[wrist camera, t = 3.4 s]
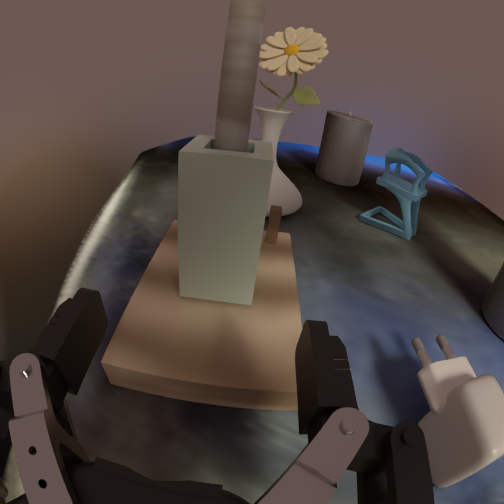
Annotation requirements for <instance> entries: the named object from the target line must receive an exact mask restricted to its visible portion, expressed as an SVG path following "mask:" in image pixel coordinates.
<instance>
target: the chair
mask: <svg viewBox="0 0 504 504" xmlns="http://www.w3.org/2000/svg"><path fill="white" fill-rule="evenodd" d="M390 163H397V165H396V169H395V172H394V174H391V175H390ZM415 163H416V164H418V165H419V166H420V167H421V168H422V169H423V171H424V172H423V171H422V170H421V169H419V167H418V166H417V165H416V164H415ZM401 164H404V165H406V166H408V167H409V168H410V169H411V170H412V171H413V172H414V173H415V174H416V175H417V178H416V179H415V181H414V183H413V184H411V183H409V182H407V181H405V180H404V179H402V178H400V177H398V176H399V173H400V168H401ZM432 172H433V171H432V170H431V169H429V168H428V167H427V166H426V165H425V164H424V163H423V162H422V161H421V159H420V158H419V157H417V156H416V155H414V154H412V153H408V152H405V151H403V150H402V149H401V148H393V149H391V150H390V151H389V152H388V153H387V154H386V159H385V172H384V174H383V176H382V177H377V181H376V183H377V184H379V185H381V186H383V187H386V188H387V189H388V190H389V191H391V192H392V193H393V194H394V195H395V196H396V197H397V198H398V200H399V202H400V206H401V210H402V217H403V221H402V220H401V219H399V218H398V217H396V216H395V215H394V214H392V213H391V212H389V211H388V210H386V209H385V208H383V207H381V206H378V207H376V208H373V209H371V210H369V211H367V212H364V213H362V214H360V217H359V221H362V222H364V223H366V224H369V225H372V226H374V227H377V228H380V229H382V230H385V231H387V232H390V233H392V234H395V235H397V236H399V237H402V238H404V239H406V240H408V241H410V240H411V236H415V234H416V230H417V221H418V211H419V204H420V200H421V198H422V197H425V196H426V194H427V190H425V183H426V181H427V179H428V177H429V176H430V174H431V173H432ZM425 173H426V175H425ZM424 175H425V176H424ZM423 176H424V177H423ZM422 177H423V178H422ZM421 178H422V180H421ZM420 180H421V183H420V187H419V186H418V184H419V182H420ZM377 213H381V214H383V215H384V216H385V217H387V218H388V219H389V220H391V221H392V222H393V223H395V224H396V225H397V226H399V227H400V228H401V229H400V228H398V227H395V226H393V225H390V224H387V223H385V222H382V221H379V220H376V219H374V218H371V217H370V216H372V215H374V214H377Z"/></svg>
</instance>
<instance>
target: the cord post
mask: <svg viewBox="0 0 504 504" xmlns="http://www.w3.org/2000/svg"><path fill="white" fill-rule="evenodd" d="M266 3H267V0H231V3H230V9H229V16H228V23H227V31H226V37H225V46H224V53H223V61H222V70H221V78H220V87H219V97H218V107H217V117H216V129H215V139H214V149H218V150H229V151H238V152H247V148H248V140H249V131H250V123H251V115H252V107H253V99H254V91H255V83H256V76H257V68H258V60H259V53H260V45H261V38H262V31H263V24H264V17H265V10H266ZM281 216H282V206H275V205H271V208H270V214H269V220H268V227H267V231H266V230H263V235H262V242H261V248H260V255H259V261H258V267H257V274H256V280H255V286H254V292H253V299H252V305H244V304H236V303H228V302H220V301H212V300H204V299H197V298H190V297H183V296H180V289H179V264H178V220H174V221H173V222H172V224H171V226H170V228H169V229H168V231H167V233H166V235H165V236H164V238H163V240H162V242H161V243H160V245H159V247H158V249H157V250H156V252H155V254H154V256H153V258H152V259H151V261H150V263H149V265H148V267H147V269H146V270H145V272H144V274H143V276H142V278H141V280H140V282H139V284H138V286H137V288H136V289H135V291H134V293H133V295H132V297H131V299H130V301H129V303H128V305H127V307H126V309H125V311H124V313H123V315H122V317H121V319H120V321H119V324H118V326H117V328H116V330H115V332H114V334H113V336H112V338H111V341H110V343H109V345H108V347H107V349H106V352H105V354H104V356H103V358H102V361H101V364H102V366H103V368H104V370H105V373H106V375H107V377H108V379H109V381H110V383H111V384H113V385H117V386H120V387H124V388H128V389H132V390H136V391H141V392H145V393H150V394H154V395H159V396H164V397H169V398H174V399H180V400H186V401H192V402H198V403H205V404H212V405H219V406H228V407H237V408H248V409H260V410H276V411H298V402H297V385H296V370H295V351H296V346H297V343H298V340H299V337H300V334H301V332H302V324H301V315H300V307H299V298H298V290H297V282H296V274H295V267H294V259H293V252H292V245H291V238H290V233H282V232H279V226H280V221H281Z"/></svg>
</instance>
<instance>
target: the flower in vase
mask: <svg viewBox="0 0 504 504" xmlns="http://www.w3.org/2000/svg"><path fill="white" fill-rule="evenodd" d="M266 41H267V43H266V44H263V45H262V46H261V47H260V48H261V50H260V53H259V60H261V61H262V62H260V63H259V66H260V67H261V68H263V69H266V71H267V72H269V73H271V72H274V75H275V76H290V75H292V74H293V73H294V72H295V81H294V86H293V88H292V90H291V91H290V93H289V94H288V95H287V96H286V97H285V98H284V100H283V101H282V102H281V103H280V104H279V105H278V107H277V108H275V107H267V106H254V108H255V110H256V112H257V114H258V116H259V120H260V127H261V140H260V141H266V142H272V148H273V157H274V164H273V170H272V177H271V184H270V190H269V197H268V203H267V210H266V216H265V217H269V214H270V208H271V205H275V206H282V216H285V215H289V214H292V213H294V212H296V211H297V210H298V209H299V208H300V207H301V206H302V197H301V194H300V193H299V191H298V190H297V188H296V187H295V185H294V184H293V183H292V182H291V181H290V180H289V179H288V178H287V177H286V176H285V175H284V174H283V172H282V171H281V170H280V169H279V167H278V165H277V162H276V151H277V145H278V140H279V136H280V132H281V130H282V127H283V125H284V123H285V121H286V120H287V119H288V118H289V117H290V116H291V115H292V114H293V111H290V110H286V109H281V108H280V107H281V106H282V105H283V104H284V102H285V101H286V100H287V99H288V98H289V97H290V95H291V94H293V98H294V101H295V103H297V104H299V105H310V104H321V103H320V101H319V99H318V97H317V95H316V94H315V92H314V91H313V90H312V89H311V88H310V87H303V88H299V89H295V88H296V85H297V74H303V73H304V72H308V71H309V70H312V69H314V68H315V65H314V64H319V63H321V61H322V59H321V58H324V57H325V56H326V55H327V54H328V50H325V48H326V47H327V44H325V43H324V42H325V41H326V38H324V37H322V34H320V33H315V32H313V29H311V28H308V29H305V28H304V27H300V28H298V29H297V30H294V29H293V28H292V27H289V28H287V29H286V30H285V32H283V33H282V32H276V33H275V34H274V37H273V36H269V37H268V38H267V39H266ZM260 83H261V84H262V85H263V86H264V87H265V88H267V89H268V90H269V91H270V92H272V93H273V94H275V95H276V96H278V97H279V95H278V94H277V93H276V92H274V91H273V90H271V89H270V88H268V87H266V86H265V85H264V84H263V83H262V82H261V81H260ZM279 98H280V97H279ZM280 99H281V98H280Z"/></svg>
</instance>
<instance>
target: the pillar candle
mask: <svg viewBox="0 0 504 504" xmlns="http://www.w3.org/2000/svg"><path fill="white" fill-rule="evenodd" d="M351 112H352V110H351V111H350V115H349V114H345V113H341V112H336V111H327V115H326V120H325V125H324V131H323V135H322V141H321V145H320V150H319V155H318V160H317V164H316V169H315V174H316V175H317V176H318V177H319V178H321V179H323V180H326V181H328V182H331V183H334V184H337V185H343V186H355V185H357V184H358V183H359V180H360V176H361V173H362V168H363V165H364V161H365V157H366V152H367V148H368V144H369V139H370V135H371V131H372V126H373V122H371V121H368V120H366V119H363V118H360V117H357V116H353V115H351Z"/></svg>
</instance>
